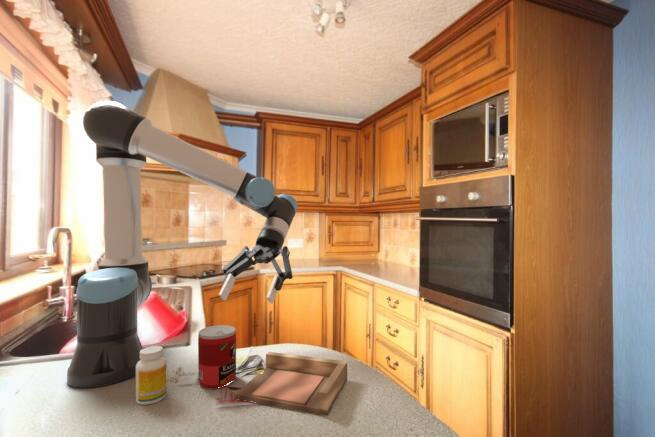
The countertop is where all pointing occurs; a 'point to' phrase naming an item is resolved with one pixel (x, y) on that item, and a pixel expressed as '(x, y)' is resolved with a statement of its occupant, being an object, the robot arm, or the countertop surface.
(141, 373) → the supplement bottle
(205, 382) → the canned food
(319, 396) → the wooden tray
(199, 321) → the countertop surface
